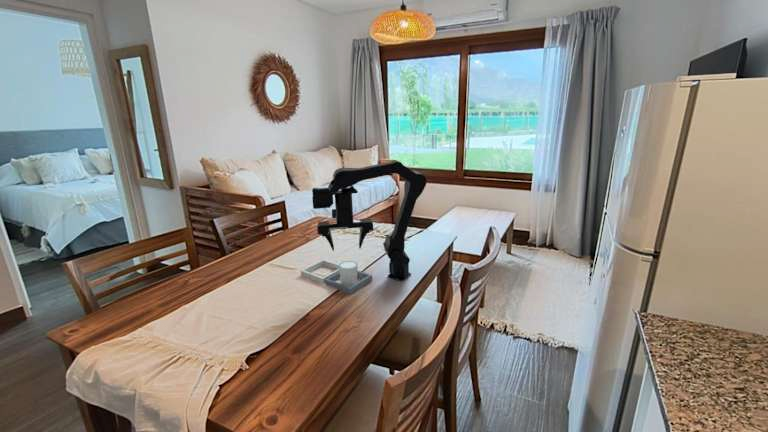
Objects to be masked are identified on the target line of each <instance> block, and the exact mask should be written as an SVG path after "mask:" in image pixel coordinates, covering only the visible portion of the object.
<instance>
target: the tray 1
mask: <svg viewBox="0 0 768 432" xmlns="http://www.w3.org/2000/svg"><path fill="white" fill-rule="evenodd" d="M339 264H340V263H337V262H333V261H330V260H327V259H325V258H324V259H322V260H320V261H317V262H315V263H314V264H311V265H309V266H307V267H305V268H303V269H301V270H300V276H302V277H304V278H307V279H309V280H313V281H315V282H316V283H317V282H318V283H320V284H323V285H324V284H325V279H327V278H329V277H330V276H332V275H334V274H336V273H338V272H340V271H339ZM323 266H326V267H329V268H332V269H334V271H332V272H330V273H329V274H327V275H325V276H320V275H317V274H315V273H312V272H314V271H315V270H317V269H319V268H321V267H323Z"/></svg>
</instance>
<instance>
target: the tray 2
mask: <svg viewBox="0 0 768 432" xmlns="http://www.w3.org/2000/svg"><path fill="white" fill-rule="evenodd" d="M358 277H359V278H361V280H358V281H357V283H356V284H354V285H352V286H345V285H343V284H342V283H339V282H336V281H337V280H338V279H341V277H340V272H338V273H336V274H334V275H332V276H330V277H329V278H327V279H325V283H324V284H325V286H328V287H330V288H333V289H336V290H338V291H342V292H344V293H347V294H349V295H351V294H353V293H354V292H356V291H358V290H359V289H361V288H362V287H364V286H365V285H367V284H369V283H370V282H371V281H373V274H371V273H367V272H364V271H361V270H358V271H357V278H358Z"/></svg>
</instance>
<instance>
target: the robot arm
mask: <svg viewBox="0 0 768 432" xmlns="http://www.w3.org/2000/svg"><path fill="white" fill-rule="evenodd" d="M395 174H397V175H398V176H400V177H401V178H403V179H404V185H403V187H404V189H403V191H404V194H403V199H402V202H401V206H400V208H399V211H398V215H397V218H396V221H395V225H394V227H393V231H392V232H391V233H390V235H389V234H386V235H385V239H384V242H383V244H382V245H383V248H384V251H385V253H386V255H387V258H388V259H389V263H388V265H389V267H388V268H389V270H388V271H389V272H388V273H389V274H388V275H387V277H388V278H391V279H394V280H397V281H400V282H403V281H404V280H405V279H407V278H408V277H410V276H411V275H412V273H411V272H409V271H410V270H409V269H410V268H409V266H410V265H409V264H410V262H411V259H410V257H409V256H408V254H407V252H405V251H406V250H405V245H406V244H405V237H406V233H407V231H408V228H409V224H410V221H411V218H412V214H413V211H414V208H415V205H416V202H417V200H418V199H419V198H420V196H421V195H422V193H423V192H424V190H425V189H426V188H425V187H426V186H427V181H428V180H427V178H426V176H425V175H424V174H422V173H421V172H419V171H417V170H411V169H410V168H408V167H407V166H406V165H404V163H402V162H401V161H399V160H397V159H394V160H392V161H388V162H383V163H378V164H374V165H373V164H372V165H369V166H364V167H362V166H361V167H339V168H337V169H336V170H334V172H333V175H332V180H331V181H330V183H329V184H328V186H327V187H321V188H320V187H312V189H311V191H312V199H311V200H312V208H313V210H317V209H328V208H331V207H332V206H333V205H335V209H331V218H332V219H335V222H336V223H330V221H329V220H327V221H319V222H318V223H317V226H316V227H317V228H316V229H317V235H321V236H322V237H324V238H325V239H326V241H327V242H328V243H329V246H330V247H331V250H332V251H333V252H335V244H334V240H333V235H332V231H333V230H334V231H335V230H344V229H345V230H347V229H359V236H358V237H359V238H358V248H359V249H360V250H361V249H362V246H363V243H364V240H365V238H366V236H367V234H370V232H371V231H374V223H373V220H372V218H370V217H366V218H360V221H356V222H354V209H353V208H354V206H353V195H352V194H358V192H359V191H358V189H357V188H355V187H354V185H357V184H358V183H360V182H363V181H366V180H370V179H374V178H379V177H385V176H389V175H395Z"/></svg>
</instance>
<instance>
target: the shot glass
mask: <svg viewBox="0 0 768 432" xmlns="http://www.w3.org/2000/svg"><path fill="white" fill-rule="evenodd" d="M338 264H339V271H340V282H341V283H340V284H343V285H345V286H348V287H351V286H353V285H354V284H356V283H358V276H357V271H359V269H358V267H359V264H358V262H357V261H354V260H345V261H342V262H340V263H338Z"/></svg>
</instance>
